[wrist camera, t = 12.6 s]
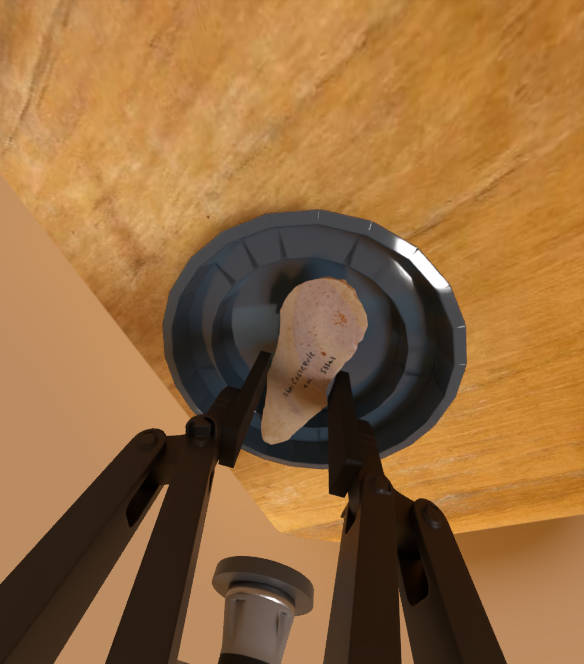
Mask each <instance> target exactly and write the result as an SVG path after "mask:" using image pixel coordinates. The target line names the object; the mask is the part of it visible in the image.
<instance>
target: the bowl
mask: <svg viewBox="0 0 584 664" xmlns="http://www.w3.org/2000/svg"><path fill="white" fill-rule="evenodd" d="M322 277H333V278H336V279H339V280H340V279H344V280H346V282H347V284H349V285H350V286H351V287H353V288H354V289H355V291H356V294H357V297H358V299H359V300H360V302H361V303H362V306H363V308H364V311H365V313H366V315H367V322H368V326H367V329H366V331H365V333H364V337H363V339H362V341H360V342H359V343H358V345H357V349H356V352H355V353H354V354H353V355H352V357H351V358H350V360H348V361H347V362H345V363H344V365H343V367H342V368H341V369H340V370H341V371H345V372H349V376H350V382H351V388H352V394H353V400H354V406H355V412H356V418H358V419H362V420H366V421H368V422H369V424H370V425H371V427H372V428H373V431H374V435H375V439H376V443H377V447H378V451H379V456H380V459H383V458H385V457H387V456H389V455H392V454H394V453H396V452H398V451H400V450H402V449H404V448H406V447H408V446H410V445H412V444H413V443H414V442H415V441H417V440H418V439H419V438H420V437H422V436H423V435H424V434H425V433H427V432H428V431H429V430H430V429H432V428H433V427H434V426H435V425H436V424H437V422H438V421H439V419H440V418H441V417H442V415H443V414H444V413H445V411H446V410H447V408H448V407H449V406H450V404H451V403H452V402H453V400H454V399H455V398H456V395H457V392H458V389H459V386H460V383H461V380H462V377H463V374H464V371H465V368H466V365H467V364H466V363H467V353H466V325H465V321H464V319H463V316H462V313H461V311H460V308H459V306H458V303H457V301H456V298H455V296H454V293H453V290H452V288H451V285H450V284H449V282H448V281H447V280H446V279H445V278H444V277H443V275H442V274H441V273H440V272H439V271H438V270H437V269H436V267H435V266H434V265H433V264H432V263H431V262H430V261H429V259H428V258H427V257H426V256H425V255H424V254H423V253H422V251H421V250H420V249H418V248H417V247H416V246H414V245H413V244H411V243H409V242H408V241H406V240H404V239H403V238H401V237H399V236H397V235H396V234H394V233H392V232H391V231H389V230H387V229H385V228H384V227H382V226H380V225H379V224H377V223H375V222H372V221H370V220H366V219H361V218H357V217H352V216H348V215H344V214H339V213H335V212H330V211H326V210H322V209H321V210H319V209H315V210H302V211H289V212H276V213H268V214H264V215H261V216H259V217H256V218H254V219H251V220H249V221H246V222H244V223H241V224H239V225H236V226H234V227H231V228H229V229H226V230H224V231H222V232H221V233H220V234H218V235H217V236H216V237H215V238H214V239H212V240H211V241H210V242H209V243H208V244H206V245H205V246H204V247H203V248H202V249H200V250H199V251H198V252H197V253H196V254H194V255H193V256H192V257H191V258H190V259H189V261H188V262H187V264H186V266H185V267H184V269H183V271H182V272H181V274H180V276H179V277H178V279H177V281H176V282H175V284H174V285H173V287H172V289H171V291H170V293H169V297H168V302H167V306H166V310H165V315H164V319H163V339H164V352H165V359H166V361H167V364H168V367H169V370H170V373H171V375H172V378H173V381H174V384H175V386H176V387H177V389H178V390H179V392H180V393H181V395H182V397H183V398H184V400H185V401H186V403H187V404H188V406H189V407H190V409H191V410H192V411H193V412H194V413H195V414H196V415H199V414H206V413H207V412H208V410H209V409H210V407H211V405H212V404H213V402H214V401H215V399H216V398H217V396H218V394H219V393H220V391H221V390H223V389H224V388H225V387H227V386H231V387H235V388H238V389H241V388H242V386H243V384H244V382H245V380H246V378H247V376H248V375H249V373H250V371H251V369H252V367H253V365H254V363H255V361H256V359H257V357H258V355H259V353H260V351H265V352H269V353H271V358H270V363H269V368H268V371H269V369H270V367H271V363H272V361H273V357H274V356H275V352H276V349H277V346H278V339H279V335H280V310H281V308H282V306H283V303H284V301H285V299H286V298H287V296H288V295H289V294H290V292H292V291H293V289H294V288H295V287H296V286H298V285H301V284H302V283H304V282H307V281H310V280H315V279H319V278H322ZM335 377H336V375H335V376H334V378H333V379H332V381H331V382H330V383H329V385H328V388H327V391H326V397H327V399H328V396H329V393H330V391H331V388H332V385H333V383H334V380H335ZM266 395H267V379H266V383H265V386H264V389H263V391H262V394H261V397H260V399H259V402H258V405H257V407H256V410H255V412H254V415H253V418H252V420H251V423H250V426H249V428H248V431H247V434H246V436H245V439H244V442H243V444H242V447H241V449H242V450H244V451H246V452H249V453H251V454H253V455H255V456H258V457H260V458H262V459H265V460H268V461H272V462H276V463H280V464H283V465H287V466H292V467H302V468H312V469H329V463H328V400H327V406H326V407H324V408H322V409H321V411H320V412H318V413H317V414H316V415H314V416H313V417H312V418H311V419H309V420H308V421H307V423H306V424H305V425H304V426H303V427H301V428H299V430H298V431H296V432H295V433H294V434H293V435H291V438H289V439H288V440H286V441H284V442H280V443H276V444H272V445H271V444H269V443H267V442H265V441H264V440H263V438H262V433H261V432H262V431H261V422H262V417H263V409H264V407H265V399H266Z"/></svg>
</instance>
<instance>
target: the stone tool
mask: <svg viewBox="0 0 584 664" xmlns="http://www.w3.org/2000/svg"><path fill="white" fill-rule="evenodd" d="M367 326H368V322H367V315H366V313H365V311H364V308H363V306H362V303H361V302H360V300H359V299H358V297H357V294H356V291H355V289H354V288H353V287H351V286H350V285H349V284H347V282H346V280H344V279H340V280H339V279H336V278H333V277H322V278H319V279H315V280H310V281H307V282H304V283H302V284H301V285H298V286H296V287H295V288H294V289H293V291H292V292H290V294H289V295H288V296H287V298H286V299H285V301H284V303H283V306H282V308H281V310H280V335H279V339H278V346H277V349H276V352H275V356H274V357H273V361H272V363H271V367H270V369H269V371H268V373H267V395H266V399H265V407H264V409H263V417H262V422H261V431H262V432H261V433H262V438H263V440H264V441H265V442H267V443H269V444H271V445H272V444H276V443H280V442H284V441H286V440H288V439H289V438H291V435H293V434H294V433H295V432H296V431H298V430H299V428H301V427H303V426H304V425H305V424H306V423H307V421H308V420H309V419H311V418H312V417H313V416H314V415H316V414H317V413H318V412H320V411H321V409H322V408H324V407H326V406H327V397H326V391H327V388H328V385H329V383H330V382H331V381H332V379H333V378H334V376H335V375H336V374H337V373H338V372H339V371H340V369H341V368H342V367H343V365H344V363H345V362H347V361H348V360H350V358H351V357H352V355H353V354H354V353H355V352H356V349H357V345H358V343H359V342H360V341H362V339H363V337H364V333H365V331H366V329H367Z"/></svg>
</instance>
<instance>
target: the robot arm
mask: <svg viewBox="0 0 584 664" xmlns="http://www.w3.org/2000/svg"><path fill="white" fill-rule="evenodd" d="M270 358H271V353H269V352H265V351H260V353H259V355H258V357H257V359H256V361H255V363H254V365H253V367H252V369H251V371H250V373H249V375H248V376H247V378H246V380H245V382H244V384H243V386H242V388H241V389H238V388H235V387H231V386H227V387H225V388H224V389H223V390H221V391H220V393H219V394H218V396H217V398H216V399H215V401H214V402H213V404H212V405H211V407H210V409H209V410H208V412H207V413H206V414H199V415H197V416H194V417H192V418H191V419H190V420H189V421H188V422H187V424H186V434H184V435H176V436H166V434H165V433H164V431H162V430H160V429H154V428H152V429H148V430H144V431H142V432H140V433H138V434H137V435H136V436H135V437H134V438H133V439H132V440H131V441H130V442H129V443H128V444H127V445H126V446H125V447H124V449H123V450H122V451H121V452H120V453H119V454H118V455H117V456H116V457H115V458H114V460H113V461H112V462H111V463H110V464H109V465H108V466H107V467H106V469H105V470H104V471H103V472H102V473H101V474H100V475H99V476H98V477H97V478H96V479H95V481H94V482H93V483H92V484H91V485H90V486H89V487H88V488H87V489H86V491H85V492H84V493H83V494H82V495H81V496H80V497H79V498H78V499H77V501H75V503H74V504H73V505H72V506H71V507H70V508H69V509H68V510H67V512H66V513H65V514H64V515H63V516H62V517H61V518H60V519H59V520H58V521H57V522H56V524H55V525H54V526H53V527H52V528H51V529H50V530H49V531H48V532H47V533H46V535H45V536H44V537H43V538H42V539H41V540H40V541H39V542H38V544H37V545H36V546H35V547H34V548H33V549H32V550H31V551H30V552H29V553H28V554H27V555H26V557H25V558H24V559H23V560H22V561H21V562H20V563H19V564H18V565H17V567H16V568H15V569H14V570H13V571H12V572H11V573H10V574H9V575H8V576H7V578H6V579H5V580H4V581H3V582H2V583H1V584H0V664H54V662H55V660H56V659H57V657H58V656H59V654H60V652H61V651H62V649H63V648H64V645H65V644H66V643H67V641H68V639H69V638H70V636H71V635H72V633H73V631H74V630H75V628H76V626H77V625H78V623H79V622H80V620H81V618H82V617H83V615H84V614H85V612H86V610H87V609H88V607H89V606H90V604H91V602H92V601H93V599H94V597H95V596H96V594H97V593H98V591H99V589H100V588H101V586H102V585H103V583H104V581H105V580H106V578H107V577H108V575H109V573H110V572H111V570H112V569H113V567H114V565H115V564H116V562H117V560H118V559H119V557H120V556H121V554H122V552H123V551H124V549H125V548H126V546H127V544H128V543H129V541H130V540H131V538H132V536H133V535H134V533H135V531H136V530H137V528H138V527H139V525H140V523H141V522H142V520H143V519H144V517H145V515H146V514H147V512H148V510H149V509H150V507H151V506H152V504H153V502H154V501H155V499H156V498H157V496H158V494H159V493H160V491H161V490H162V488H163V486H164V485H166V484H169V487H168V490H167V492H166V495H165V498H164V501H163V503H162V506H161V509H160V512H159V515H158V518H157V520H156V523H155V526H154V528H153V531H152V534H151V537H150V540H149V542H148V545H147V548H146V551H145V554H144V557H143V559H142V562H141V565H140V568H139V571H138V573H137V576H136V579H135V582H134V585H133V587H132V590H131V593H130V596H129V598H128V601H127V604H126V607H125V610H124V612H123V615H122V618H121V621H120V624H119V626H118V629H117V632H116V635H115V637H114V640H113V643H112V646H111V649H110V652H109V654H108V657H107V660H106V663H105V664H188V663H185V662H182V661H179V660H177V658H178V653H179V648H180V642H181V638H182V633H183V628H184V623H185V618H186V613H187V608H188V603H189V598H190V593H191V587H192V583H193V578H194V573H195V568H196V562H197V558H198V552H199V547H200V543H201V538H202V533H203V527H204V523H205V518H206V512H207V507H208V502H209V497H210V492H211V487H212V482H213V477H214V470H215V466H216V464H217V462H218V460H219V464H220V465H224V466H227V467H231V468H234V465H235V463H236V460H237V457H238V455H239V452H240V449H241V447H242V444H243V442H244V439H245V436H246V434H247V431H248V428H249V426H250V423H251V420H252V418H253V415H254V412H255V410H256V407H257V405H258V402H259V399H260V397H261V394H262V391H263V389H264V386H265V383H266V379H267V373H268V368H269V363H270ZM327 400H328V463H329V494H332V495H336V496H339V497H343V498H345V496H346V494H347V492H348V497H349V502H348V504H347V505H346V507H345V509H344V511H343V512H342V515H341V518H343V517H344V516H345V517H344V523H343V530H342V537H341V544H340V552H339V558H338V565H337V572H336V579H335V586H334V593H333V600H332V607H331V613H330V620H329V627H328V634H327V641H326V648H325V655H324V662H323V664H401V639H400V616H399V592H400V597H401V602H402V607H403V612H404V617H405V622H406V627H407V631H408V636H409V641H410V646H411V651H412V656H413V661H414V664H507V663H506V661H505V658H504V655H503V653H502V651H501V649H500V646H499V643H498V641H497V639H496V636H495V634H494V631H493V629H492V627H491V624H490V622H489V619H488V617H487V615H486V612H485V610H484V607H483V605H482V603H481V600H480V598H479V595H478V593H477V591H476V588H475V586H474V584H473V581H472V579H471V576H470V574H469V572H468V569H467V567H466V564H465V562H464V559H463V557H462V555H461V552H460V550H459V547H458V545H457V543H456V540H455V538H454V535H453V533H452V531H451V528H450V526H449V523H448V521H447V519H446V517H445V516H444V514H443V513H442V511H441V510H440V509H439V508H438V507H437V506H436V505H435V504H433V503H432V502H431V501H429V500H427V499H422V498H419V499H418V500H416V501H415V502H414V501H412V500H410V499H409V498H407V497H405V496H404V495H402V494H400V493H399V492H398V491H396V490H395V489H394V488H393V486H392V484H391V482H390V481H389V479H388V478H387V477H386V476H385V475H384V472H383V468H382V464H381V460H380V456H379V451H378V447H377V443H376V439H375V435H374V431H373V428H372V427H371V425H370V424H369V422H368V421H366V420H362V419H358V418H356V412H355V406H354V400H353V394H352V388H351V382H350V376H349V372H345V371H341V370H340V371H339V372H338V373H337V374H336V377H335V380H334V383H333V385H332V388H331V391H330V393H329V396H328V399H327ZM398 587H399V590H398ZM294 614H295V600H294V599H293V598H292V597H291V596H290V595H289V594H288V593H286V592H284V591H283V590H281V589H279V588H276V587H274V586H271V585H268V584H264V583H260V582H255V581H236V582H233V583H231V584H230V585H229V586H228V590H227V594H226V598H225V610H224V627H223V642H222V649H221V653H220V657H219V662H218V664H281V661H282V657H283V654H284V650H285V646H286V643H287V640H288V636H289V633H290V629H291V626H292V622H293V619H294Z"/></svg>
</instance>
